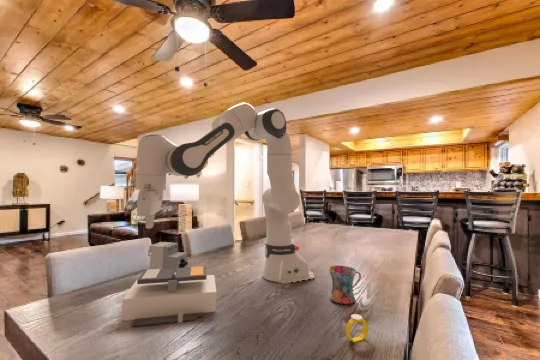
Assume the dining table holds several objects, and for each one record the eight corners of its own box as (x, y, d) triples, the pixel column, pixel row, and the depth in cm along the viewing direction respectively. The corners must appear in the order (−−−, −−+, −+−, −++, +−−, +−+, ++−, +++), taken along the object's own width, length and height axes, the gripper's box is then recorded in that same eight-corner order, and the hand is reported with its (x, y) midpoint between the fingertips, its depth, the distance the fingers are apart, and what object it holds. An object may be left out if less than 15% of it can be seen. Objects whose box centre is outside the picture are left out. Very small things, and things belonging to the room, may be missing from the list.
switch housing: (213, 291, 94) (214, 265, 95) (215, 311, 79) (216, 279, 79) (136, 297, 88) (137, 269, 88) (121, 321, 72) (123, 286, 73)
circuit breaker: (180, 287, 98) (181, 247, 98) (147, 284, 100) (148, 245, 101) (190, 280, 105) (191, 243, 105) (159, 277, 108) (160, 241, 108)
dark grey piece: (204, 314, 77) (204, 308, 77) (204, 320, 74) (204, 313, 74) (133, 322, 72) (133, 315, 72) (130, 328, 69) (130, 321, 69)
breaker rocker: (206, 270, 91) (206, 265, 91) (206, 280, 81) (206, 275, 81) (144, 274, 86) (144, 269, 86) (137, 285, 76) (137, 279, 76)
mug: (337, 308, 83) (337, 274, 83) (323, 296, 92) (323, 266, 92) (369, 303, 86) (369, 271, 87) (352, 293, 95) (352, 264, 95)
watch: (351, 346, 63) (350, 322, 63) (344, 340, 65) (343, 317, 65) (370, 339, 65) (369, 316, 65) (362, 334, 68) (361, 311, 68)
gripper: (156, 184, 74) (154, 232, 73) (166, 185, 93) (164, 223, 93) (131, 183, 72) (129, 233, 71) (147, 184, 92) (145, 223, 91)
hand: (149, 227), depth 82 cm, fingers closed
